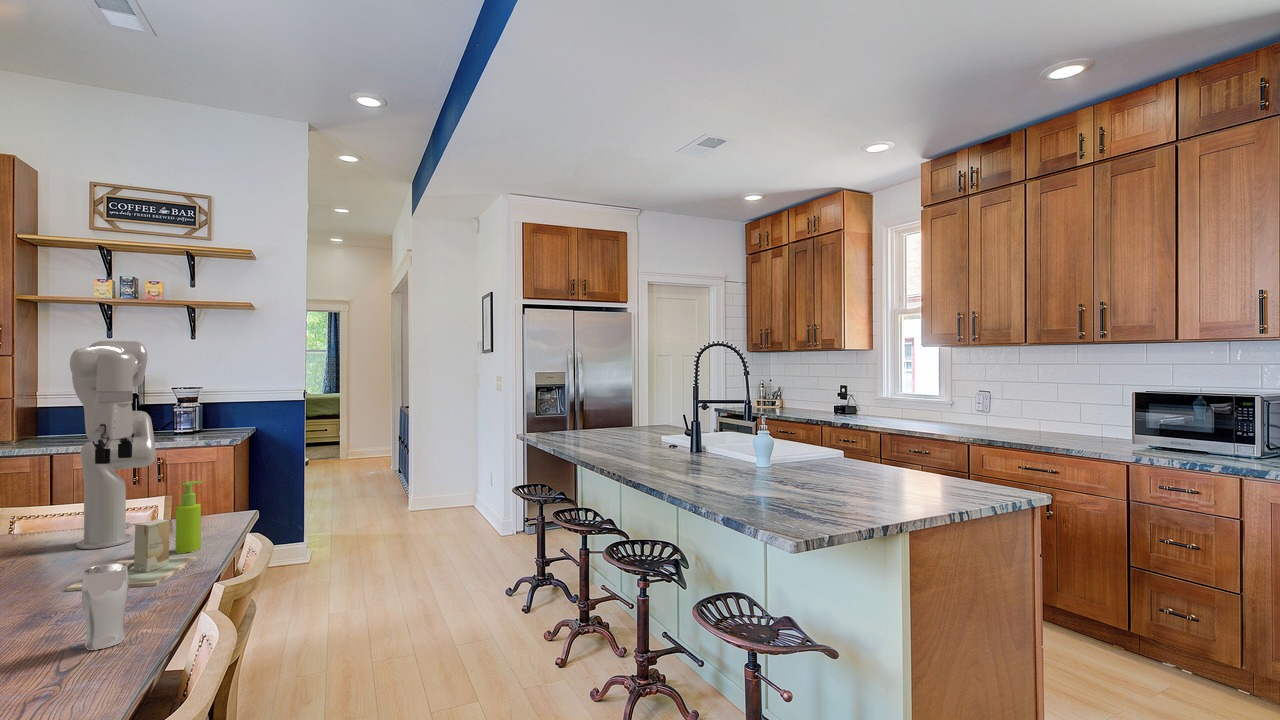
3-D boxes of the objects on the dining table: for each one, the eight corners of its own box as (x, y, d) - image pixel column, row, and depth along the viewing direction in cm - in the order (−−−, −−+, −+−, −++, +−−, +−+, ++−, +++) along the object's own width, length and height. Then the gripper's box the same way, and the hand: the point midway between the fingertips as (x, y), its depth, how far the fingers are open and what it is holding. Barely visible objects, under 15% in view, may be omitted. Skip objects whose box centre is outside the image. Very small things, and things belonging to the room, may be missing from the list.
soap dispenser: (208, 547, 181) (209, 480, 181) (184, 554, 175) (185, 485, 175) (194, 545, 183) (195, 479, 183) (170, 552, 177) (171, 483, 177)
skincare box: (146, 572, 157) (147, 525, 157) (132, 571, 158) (133, 524, 158) (170, 564, 163) (170, 519, 163) (157, 563, 164) (157, 518, 164)
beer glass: (100, 636, 124) (100, 562, 124) (136, 635, 124) (137, 561, 124) (71, 652, 117) (71, 574, 117) (110, 651, 117) (110, 573, 117)
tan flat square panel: (117, 563, 166) (117, 560, 166) (196, 559, 171) (196, 555, 171) (66, 591, 147) (66, 587, 147) (156, 585, 151) (156, 581, 151)
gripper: (118, 396, 174) (117, 456, 174) (76, 400, 157) (76, 466, 157) (148, 396, 175) (148, 455, 175) (110, 400, 158) (110, 465, 158)
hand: (114, 460), depth 166 cm, fingers open, 9 cm apart
